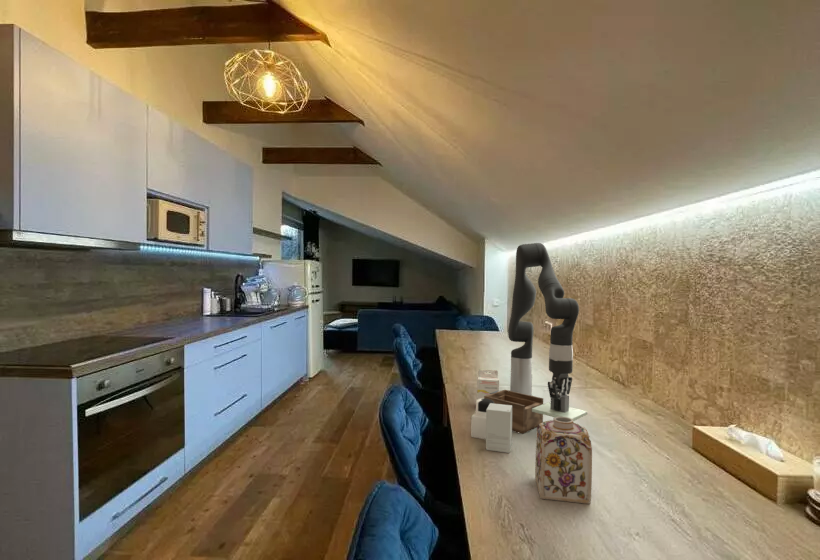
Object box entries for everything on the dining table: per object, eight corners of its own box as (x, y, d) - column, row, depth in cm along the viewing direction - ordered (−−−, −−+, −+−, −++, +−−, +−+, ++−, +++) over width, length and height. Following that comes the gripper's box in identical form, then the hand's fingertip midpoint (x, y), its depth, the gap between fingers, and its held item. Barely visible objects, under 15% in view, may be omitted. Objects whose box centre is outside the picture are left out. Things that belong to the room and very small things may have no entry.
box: (504, 414, 169) (505, 389, 169) (542, 424, 157) (543, 398, 157) (483, 422, 159) (484, 396, 159) (522, 433, 147) (523, 406, 147)
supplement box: (512, 444, 138) (513, 405, 138) (509, 453, 131) (510, 411, 131) (488, 441, 140) (489, 402, 140) (485, 450, 133) (486, 408, 133)
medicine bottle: (497, 434, 147) (498, 398, 147) (492, 441, 141) (492, 404, 140) (476, 430, 150) (477, 395, 150) (470, 437, 144) (471, 400, 143)
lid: (548, 404, 155) (548, 388, 155) (587, 414, 145) (587, 396, 145) (531, 411, 147) (532, 393, 147) (572, 422, 137) (572, 403, 137)
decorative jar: (591, 505, 102) (593, 428, 102) (540, 500, 104) (541, 424, 104) (581, 482, 113) (582, 413, 113) (534, 477, 115) (536, 409, 115)
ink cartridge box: (477, 408, 176) (477, 371, 176) (476, 404, 181) (477, 369, 181) (498, 409, 175) (499, 372, 175) (497, 405, 180) (498, 369, 180)
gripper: (559, 353, 153) (558, 402, 153) (540, 358, 143) (538, 410, 143) (580, 356, 148) (579, 407, 148) (562, 362, 138) (560, 416, 138)
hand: (559, 408), depth 146 cm, fingers closed on lid, 3 cm apart
